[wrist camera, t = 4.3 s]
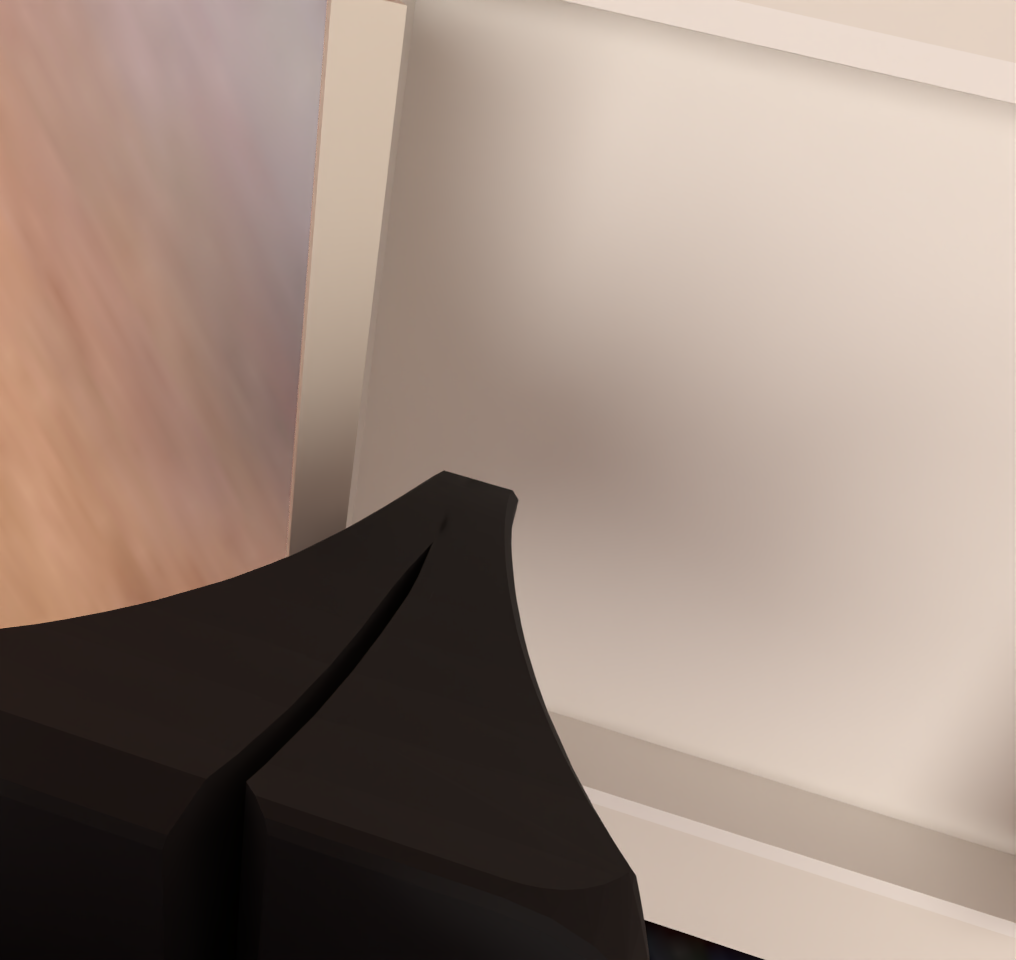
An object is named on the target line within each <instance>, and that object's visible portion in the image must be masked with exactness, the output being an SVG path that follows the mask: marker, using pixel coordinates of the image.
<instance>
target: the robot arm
mask: <svg viewBox="0 0 1016 960" xmlns="http://www.w3.org/2000/svg"><path fill="white" fill-rule="evenodd" d="M518 501H519V500H518V498H517V496H516V495H515V493H514V491H513V490H510V489H507V488H503V487H500V486H496V485H493V484H489V483H486V482H482V481H479V480H476V479H472V478H469V477H465V476H462V475H458V474H455V473H451V472H448V471H442V472H440V473H438V474H436V475H434V476H433V477H431V478H429V479H428V480H426V481H424V482H423V483H421V484H420V485H418V486H417V487H415V488H413V489H412V490H410V491H409V492H407V493H406V494H404V495H402V496H401V497H399V498H397V499H396V500H394V501H393V502H391V503H389V504H388V505H386V506H384V507H383V508H381V509H379V510H377V511H376V512H374V513H372V514H370V515H369V516H367V517H365V518H363V519H362V520H360V521H358V522H356V523H355V524H353V525H351V526H349V527H348V528H346V529H344V530H342V531H340V532H338V533H336V534H334V535H332V536H330V537H328V538H326V539H324V540H322V541H320V542H318V543H316V544H314V545H312V546H310V547H308V548H306V549H304V550H302V551H300V552H298V553H295V554H293V555H291V556H289V557H286V558H284V559H281V560H279V561H276V562H274V563H272V564H269V565H266V566H264V567H261V568H258V569H255V570H253V571H250V572H247V573H245V574H242V575H239V576H237V577H234V578H231V579H228V580H225V581H222V582H218V583H215V584H211V585H208V586H204V587H201V588H197V589H194V590H190V591H187V592H183V593H180V594H176V595H173V596H169V597H166V598H162V599H159V600H155V601H151V602H147V603H143V604H139V605H134V606H130V607H125V608H121V609H116V610H112V611H107V612H102V613H97V614H92V615H86V616H81V617H76V618H70V619H65V620H59V621H53V622H47V623H41V624H34V625H27V626H19V627H11V628H3V629H0V960H650V959H649V951H648V943H647V936H646V928H645V921H644V915H643V910H642V904H641V898H640V892H639V887H638V882H637V877H636V875H635V873H634V872H633V870H632V869H631V867H630V866H629V864H628V862H627V861H626V859H625V858H624V856H623V855H622V853H621V852H620V850H619V848H618V847H617V845H616V844H615V842H614V841H613V839H612V837H611V836H610V834H609V832H608V831H607V829H606V827H605V826H604V824H603V822H602V821H601V819H600V817H599V816H598V814H597V812H596V810H595V809H594V807H593V805H592V803H591V801H590V799H589V798H588V796H587V794H586V792H585V790H584V788H583V786H582V784H581V783H580V781H579V779H578V777H577V775H576V773H575V771H574V769H573V767H572V765H571V763H570V761H569V758H568V756H567V754H566V752H565V749H564V747H563V745H562V743H561V740H560V738H559V736H558V734H557V731H556V729H555V727H554V724H553V722H552V720H551V718H550V715H549V713H548V711H547V708H546V705H545V703H544V700H543V697H542V694H541V691H540V688H539V686H538V683H537V680H536V677H535V674H534V670H533V667H532V664H531V660H530V657H529V654H528V650H527V646H526V642H525V638H524V634H523V629H522V625H521V620H520V614H519V609H518V604H517V598H516V591H515V584H514V573H513V563H512V545H511V543H512V525H513V521H514V517H515V513H516V509H517V505H518Z"/></svg>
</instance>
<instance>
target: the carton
mask: <svg viewBox="0 0 1016 960" xmlns="http://www.w3.org/2000/svg"><path fill="white" fill-rule="evenodd" d="M400 1H401V2H403V3H404V4H406V5H407V11H406V20H405V28H404V37H403V45H402V54H401V62H400V71H399V79H398V88H397V96H396V105H395V113H394V122H393V130H392V139H391V148H390V156H389V165H388V173H387V182H386V190H385V199H384V207H383V216H382V224H381V233H380V241H379V250H378V258H377V267H376V275H375V284H374V292H373V301H372V310H371V318H370V327H369V335H368V344H367V352H366V361H365V369H364V378H363V386H362V395H361V403H360V412H359V420H358V429H357V437H356V446H355V454H354V463H353V471H352V480H351V489H350V497H349V506H348V514H347V523H346V528H348V527H349V526H351V525H353V524H355V523H356V522H358V521H360V520H362V519H363V518H365V517H367V516H369V515H370V514H372V513H374V512H376V511H377V510H379V509H381V508H383V507H384V506H386V505H388V504H389V503H391V502H393V501H394V500H396V499H397V498H399V497H401V496H402V495H404V494H406V493H407V492H409V491H410V490H412V489H413V488H415V487H417V486H418V485H420V484H421V483H423V482H424V481H426V480H428V479H429V478H431V477H433V476H434V475H436V474H438V473H440V472H442V471H448V472H451V473H455V474H458V475H462V476H465V477H469V478H472V479H476V480H479V481H482V482H486V483H489V484H493V485H496V486H500V487H503V488H507V489H510V490H513V491H514V493H515V495H516V496H517V498H518V500H519V501H518V505H517V509H516V513H515V517H514V521H513V525H512V543H511V545H512V563H513V573H514V584H515V591H516V598H517V604H518V609H519V614H520V620H521V625H522V629H523V634H524V638H525V642H526V646H527V650H528V654H529V657H530V660H531V664H532V667H533V670H534V674H535V677H536V680H537V683H538V686H539V688H540V691H541V694H542V697H543V700H544V703H545V705H546V708H547V711H548V713H549V715H550V718H551V720H552V722H553V724H554V727H555V729H556V731H557V734H558V736H559V738H560V740H561V743H562V745H563V747H564V749H565V752H566V754H567V756H568V758H569V761H570V763H571V765H572V767H573V769H574V771H575V773H576V775H577V777H578V779H579V781H580V783H581V784H582V786H583V788H584V790H585V792H586V794H587V796H588V798H589V799H590V801H591V803H592V805H593V807H594V809H595V810H596V812H597V814H598V816H599V817H600V819H601V821H602V822H603V824H604V826H605V827H606V829H607V831H608V832H609V834H610V836H611V837H612V839H613V841H614V842H615V844H616V845H617V847H618V848H619V850H620V852H621V853H622V855H623V856H624V858H625V859H626V861H627V862H628V864H629V866H630V867H631V869H632V870H633V872H634V873H635V875H636V877H637V882H638V887H639V892H640V898H641V904H642V910H643V915H644V920H647V921H650V922H653V923H656V924H659V925H662V926H665V927H669V928H672V929H675V930H678V931H681V932H684V933H687V934H690V935H693V936H696V937H699V938H702V939H705V940H708V941H711V942H714V943H717V944H720V945H723V946H726V947H729V948H732V949H735V950H738V951H741V952H744V953H747V954H750V955H753V956H756V957H759V958H762V959H765V960H1016V0H400Z"/></svg>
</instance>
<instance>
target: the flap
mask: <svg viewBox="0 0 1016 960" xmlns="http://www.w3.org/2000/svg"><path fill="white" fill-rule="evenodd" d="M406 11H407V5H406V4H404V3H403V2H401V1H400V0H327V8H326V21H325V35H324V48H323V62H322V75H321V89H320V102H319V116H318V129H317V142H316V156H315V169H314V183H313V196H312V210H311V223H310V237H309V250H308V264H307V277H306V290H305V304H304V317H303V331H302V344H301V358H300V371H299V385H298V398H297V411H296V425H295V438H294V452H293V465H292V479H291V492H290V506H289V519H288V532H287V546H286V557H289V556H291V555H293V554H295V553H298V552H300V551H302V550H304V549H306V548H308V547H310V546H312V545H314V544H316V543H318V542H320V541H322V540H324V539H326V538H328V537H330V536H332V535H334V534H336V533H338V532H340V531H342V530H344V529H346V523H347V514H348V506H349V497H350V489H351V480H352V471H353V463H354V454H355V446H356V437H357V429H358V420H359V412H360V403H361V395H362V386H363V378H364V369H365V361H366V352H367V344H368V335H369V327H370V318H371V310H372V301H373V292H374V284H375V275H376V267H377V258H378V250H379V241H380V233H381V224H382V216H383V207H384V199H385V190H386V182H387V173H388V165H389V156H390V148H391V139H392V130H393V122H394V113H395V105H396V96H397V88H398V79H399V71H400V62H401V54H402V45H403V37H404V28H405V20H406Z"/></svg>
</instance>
